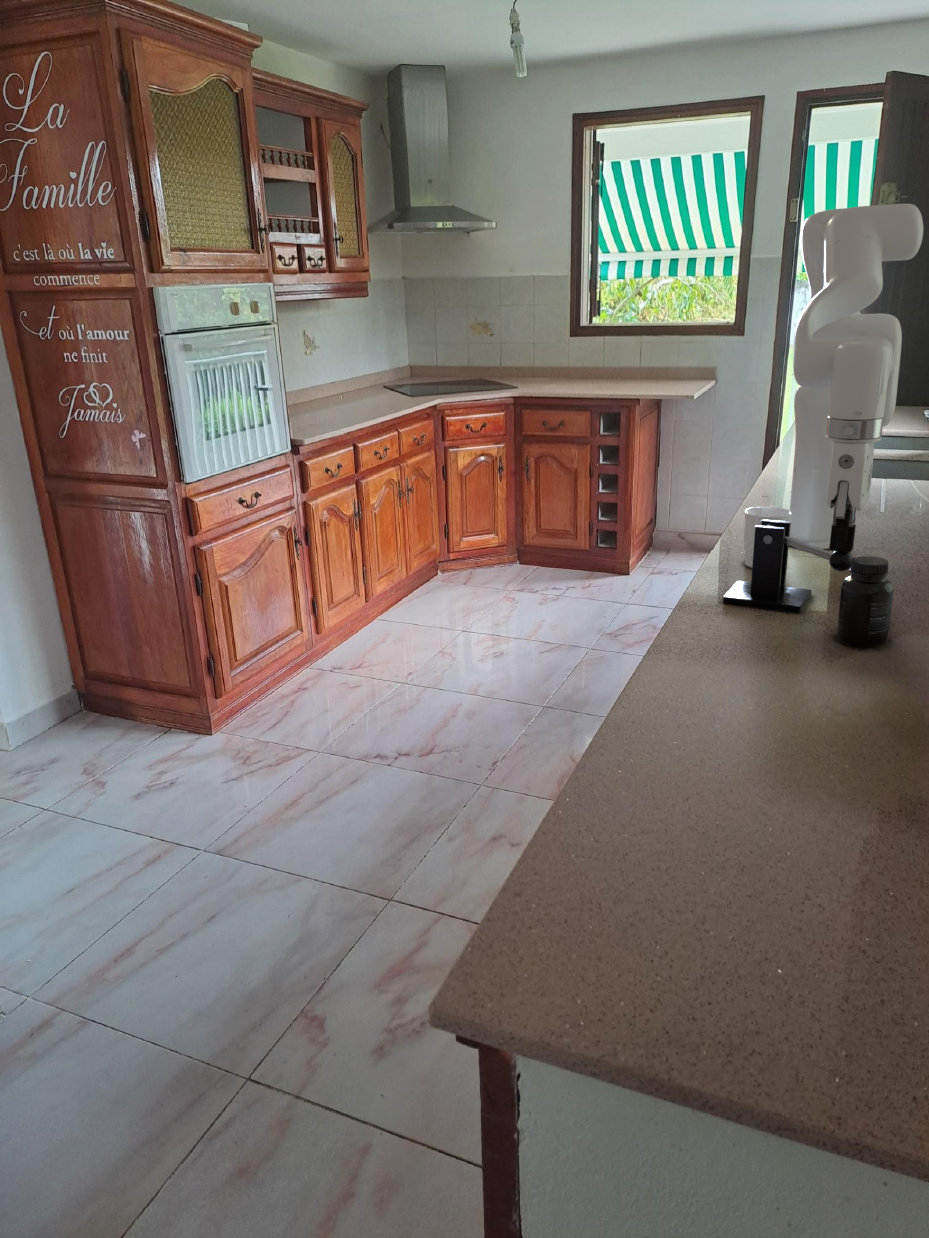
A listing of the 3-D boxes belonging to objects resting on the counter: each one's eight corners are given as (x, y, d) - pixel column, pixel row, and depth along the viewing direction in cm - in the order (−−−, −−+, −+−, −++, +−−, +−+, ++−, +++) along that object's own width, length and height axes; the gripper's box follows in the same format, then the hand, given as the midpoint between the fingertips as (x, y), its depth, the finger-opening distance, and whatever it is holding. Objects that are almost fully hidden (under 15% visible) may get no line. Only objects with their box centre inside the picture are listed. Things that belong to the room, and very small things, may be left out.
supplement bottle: (885, 633, 129) (895, 554, 124) (889, 651, 123) (900, 569, 118) (834, 629, 131) (843, 552, 127) (836, 646, 125) (845, 566, 121)
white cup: (789, 571, 157) (793, 517, 154) (743, 570, 159) (747, 516, 155) (783, 558, 165) (787, 506, 161) (739, 558, 166) (743, 506, 163)
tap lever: (849, 571, 138) (858, 551, 136) (846, 577, 135) (854, 557, 133) (762, 538, 143) (770, 519, 141) (757, 544, 140) (765, 524, 139)
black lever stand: (810, 596, 145) (818, 520, 140) (799, 613, 138) (807, 534, 133) (737, 587, 151) (742, 514, 146) (722, 603, 144) (727, 527, 139)
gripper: (875, 438, 121) (860, 565, 128) (888, 423, 133) (874, 540, 140) (817, 436, 125) (805, 560, 131) (835, 422, 137) (824, 536, 143)
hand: (841, 549), depth 135 cm, fingers closed
